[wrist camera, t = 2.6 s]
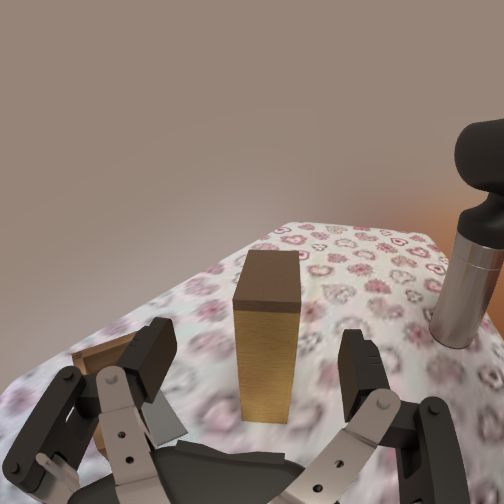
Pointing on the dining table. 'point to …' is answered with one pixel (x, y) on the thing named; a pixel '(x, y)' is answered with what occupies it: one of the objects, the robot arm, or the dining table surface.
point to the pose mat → (162, 420)
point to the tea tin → (267, 333)
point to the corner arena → (97, 360)
